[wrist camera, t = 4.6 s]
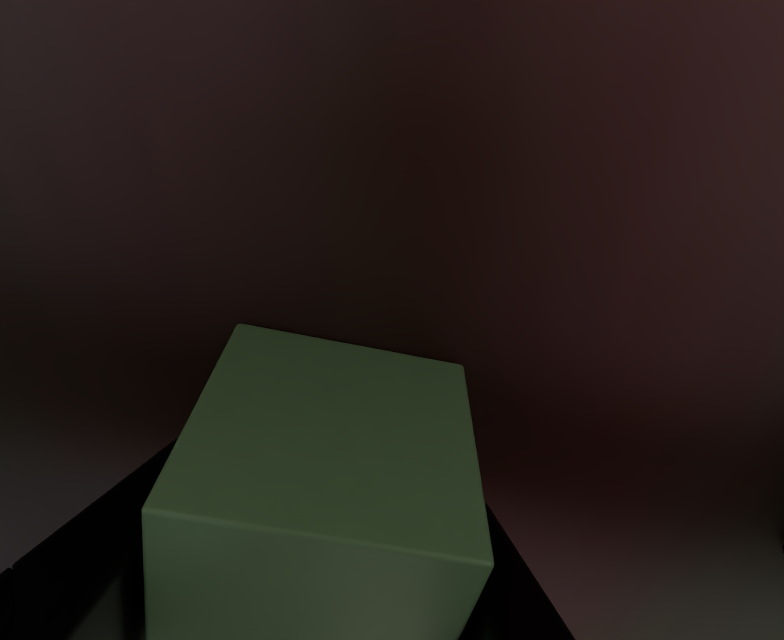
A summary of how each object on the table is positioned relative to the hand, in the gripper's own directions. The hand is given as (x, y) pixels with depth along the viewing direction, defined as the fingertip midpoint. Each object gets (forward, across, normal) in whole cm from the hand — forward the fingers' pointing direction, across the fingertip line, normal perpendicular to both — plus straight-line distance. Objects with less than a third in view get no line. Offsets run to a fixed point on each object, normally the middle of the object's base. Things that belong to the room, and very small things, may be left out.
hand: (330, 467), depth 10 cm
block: (+1, 0, 0) cm, 1 cm away
